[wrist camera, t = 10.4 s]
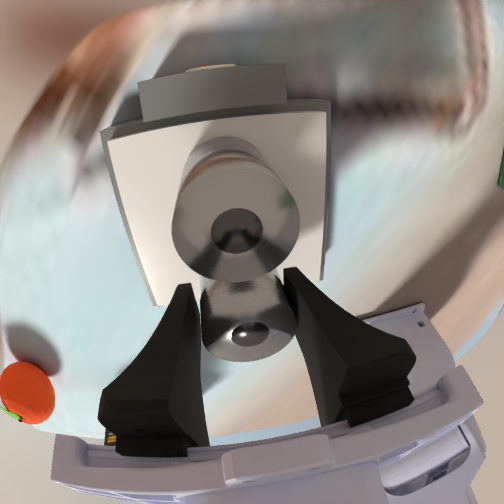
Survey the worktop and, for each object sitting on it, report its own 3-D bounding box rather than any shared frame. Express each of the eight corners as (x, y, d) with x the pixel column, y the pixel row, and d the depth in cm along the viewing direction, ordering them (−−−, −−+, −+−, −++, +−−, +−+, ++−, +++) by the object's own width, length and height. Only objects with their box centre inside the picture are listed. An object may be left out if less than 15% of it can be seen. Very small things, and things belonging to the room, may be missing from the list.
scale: (317, 62, 12) (340, 60, 10) (315, 265, 19) (329, 292, 17) (103, 90, 11) (82, 93, 9) (156, 289, 19) (151, 319, 16)
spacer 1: (272, 138, 12) (310, 173, 8) (263, 217, 14) (288, 281, 10) (182, 135, 11) (169, 168, 7) (182, 216, 14) (175, 283, 9)
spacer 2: (271, 228, 15) (300, 293, 11) (271, 287, 17) (293, 354, 13) (193, 237, 14) (194, 307, 10) (204, 295, 17) (209, 366, 12)
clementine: (8, 369, 22) (-6, 416, 16) (-4, 336, 19) (-25, 390, 13) (63, 390, 25) (53, 441, 19) (58, 362, 22) (43, 422, 16)
